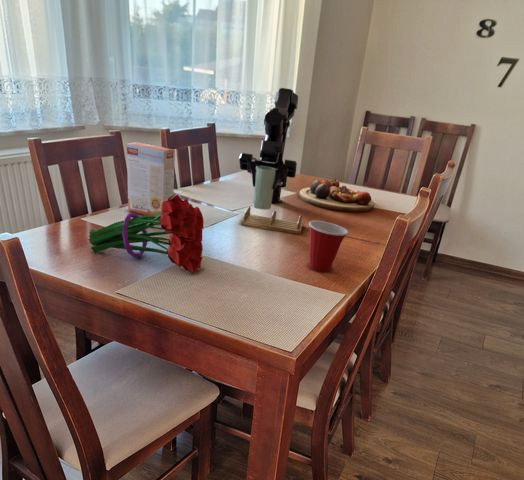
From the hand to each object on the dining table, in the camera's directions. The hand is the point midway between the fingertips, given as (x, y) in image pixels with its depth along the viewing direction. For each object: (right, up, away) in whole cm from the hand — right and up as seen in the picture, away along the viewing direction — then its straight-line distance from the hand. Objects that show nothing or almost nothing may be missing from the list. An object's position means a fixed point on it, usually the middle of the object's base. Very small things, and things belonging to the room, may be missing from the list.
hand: (263, 187), depth 156 cm
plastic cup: (+16, -30, -22) cm, 41 cm away
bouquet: (-31, -30, -33) cm, 54 cm away
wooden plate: (+31, +10, +48) cm, 58 cm away
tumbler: (-1, -5, +5) cm, 7 cm away
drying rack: (+3, -10, +7) cm, 13 cm away
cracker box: (-37, -8, +1) cm, 38 cm away
